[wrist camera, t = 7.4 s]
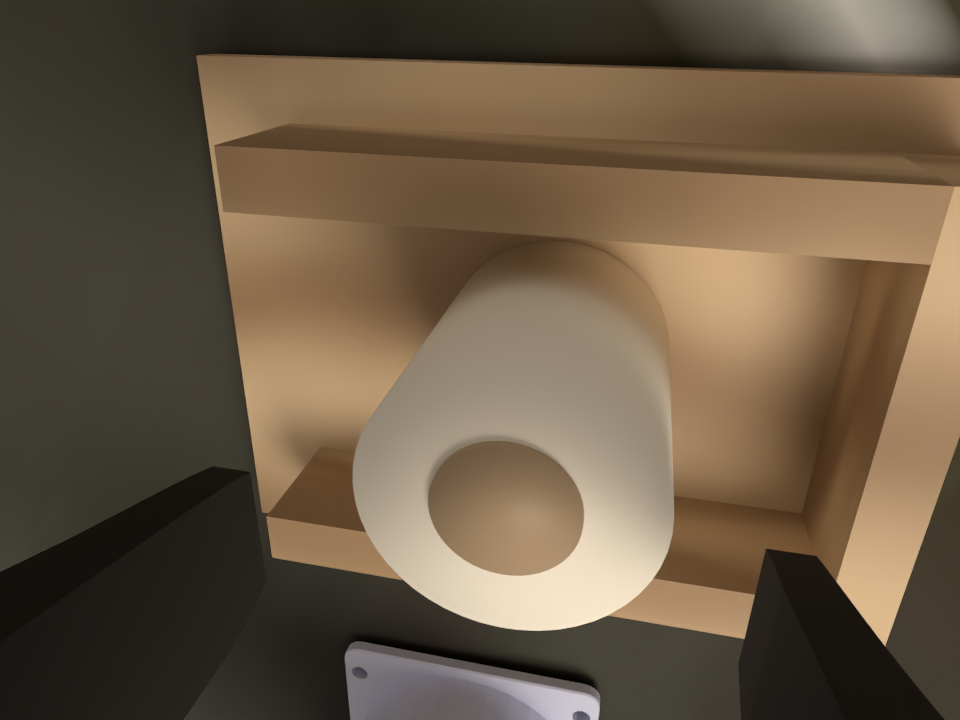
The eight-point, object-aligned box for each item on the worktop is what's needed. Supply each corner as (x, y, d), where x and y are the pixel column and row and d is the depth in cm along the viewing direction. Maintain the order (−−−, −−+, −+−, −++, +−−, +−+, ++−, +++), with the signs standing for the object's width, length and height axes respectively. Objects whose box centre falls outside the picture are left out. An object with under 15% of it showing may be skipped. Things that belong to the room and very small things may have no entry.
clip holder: (859, 586, 18) (905, 714, 15) (275, 495, 21) (203, 586, 18) (1021, 77, 13) (1149, 97, 10) (216, 53, 16) (99, 63, 13)
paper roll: (653, 455, 17) (650, 663, 12) (449, 427, 18) (356, 606, 12) (685, 251, 15) (700, 390, 9) (449, 231, 16) (338, 346, 10)
